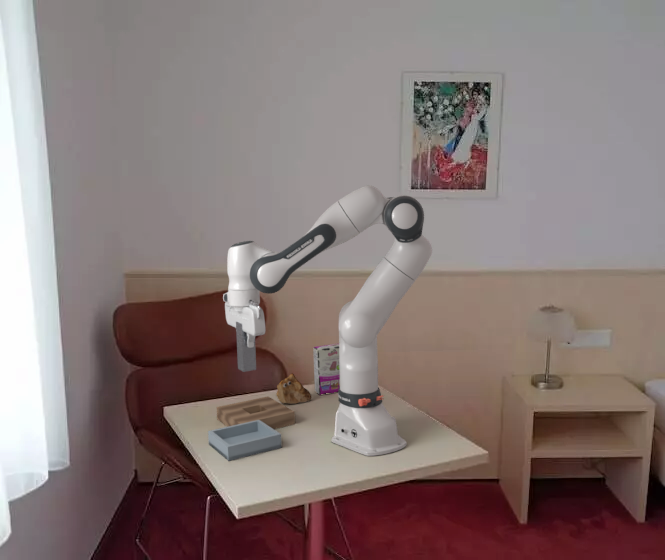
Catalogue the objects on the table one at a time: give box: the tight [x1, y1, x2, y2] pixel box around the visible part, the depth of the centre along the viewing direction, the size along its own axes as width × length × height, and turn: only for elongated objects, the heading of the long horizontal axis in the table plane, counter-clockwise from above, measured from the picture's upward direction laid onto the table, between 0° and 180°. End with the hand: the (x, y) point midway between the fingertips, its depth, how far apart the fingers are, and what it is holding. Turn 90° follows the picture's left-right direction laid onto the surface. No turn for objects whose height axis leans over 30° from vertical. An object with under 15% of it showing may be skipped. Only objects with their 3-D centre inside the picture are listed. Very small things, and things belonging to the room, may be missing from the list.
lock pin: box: [235, 322, 257, 373], centre depth 201 cm, size 4×4×14 cm
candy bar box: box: [312, 342, 340, 396], centre depth 243 cm, size 11×5×16 cm, turn 114°
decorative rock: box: [276, 372, 312, 405], centre depth 232 cm, size 12×6×11 cm, turn 119°
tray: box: [207, 420, 283, 462], centre depth 196 cm, size 14×16×4 cm
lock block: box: [216, 396, 296, 430], centre depth 216 cm, size 18×18×4 cm
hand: (246, 345), depth 201 cm, fingers closed on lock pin, 4 cm apart
